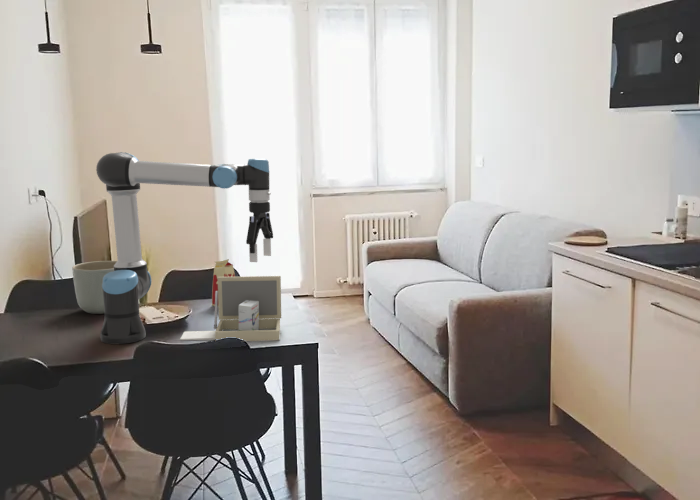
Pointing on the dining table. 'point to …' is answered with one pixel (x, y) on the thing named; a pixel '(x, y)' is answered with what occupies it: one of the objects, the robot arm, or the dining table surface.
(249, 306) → the ink box
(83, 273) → the planter
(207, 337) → the pad
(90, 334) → the dining table surface
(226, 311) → the case
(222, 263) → the milk carton
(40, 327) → the dining table surface
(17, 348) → the dining table surface
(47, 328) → the dining table surface
